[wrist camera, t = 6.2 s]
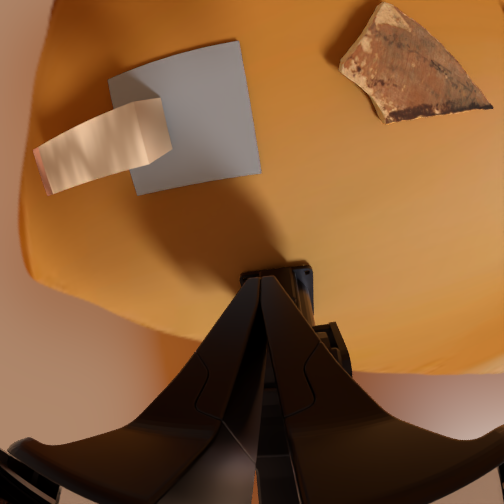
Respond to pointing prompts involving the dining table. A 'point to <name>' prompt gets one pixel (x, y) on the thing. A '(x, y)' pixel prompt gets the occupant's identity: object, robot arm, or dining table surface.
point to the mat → (195, 116)
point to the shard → (408, 70)
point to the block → (104, 146)
